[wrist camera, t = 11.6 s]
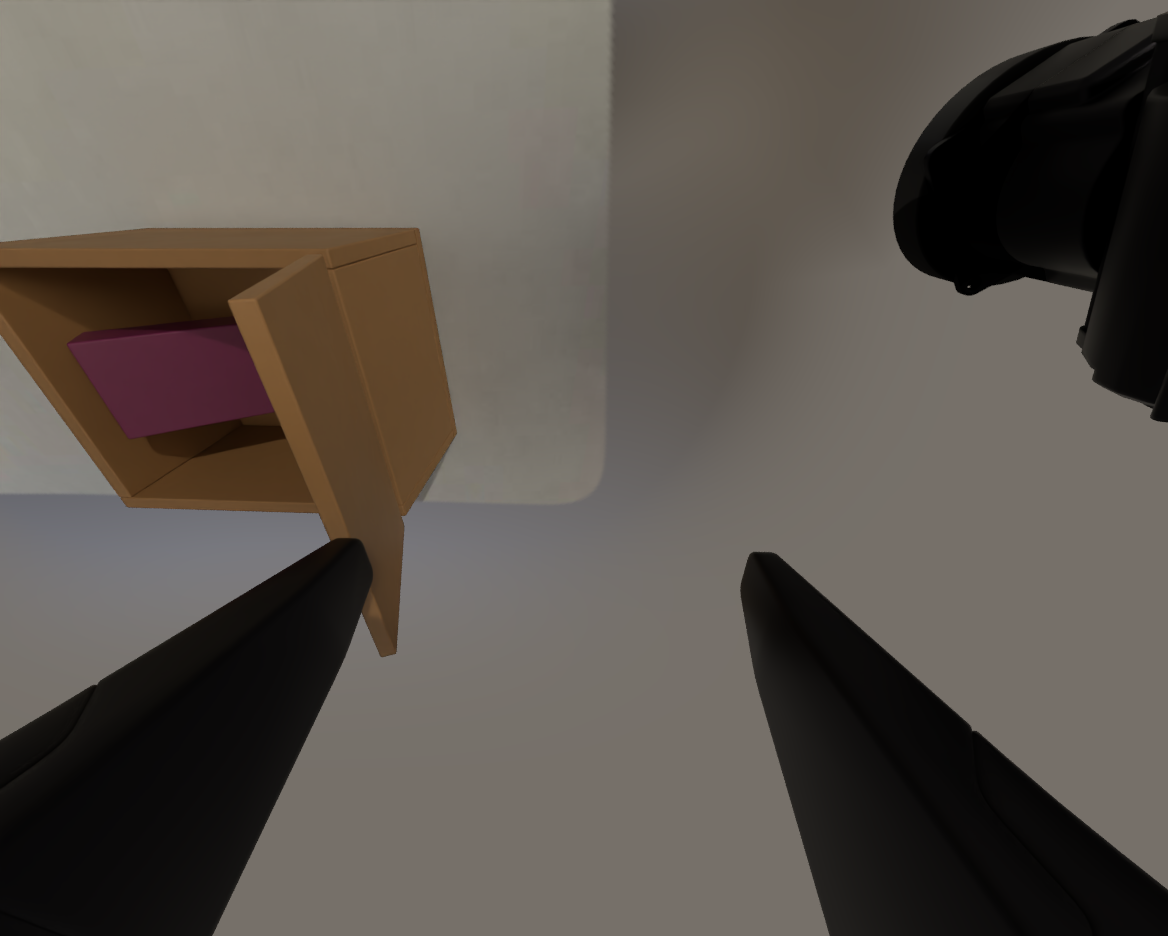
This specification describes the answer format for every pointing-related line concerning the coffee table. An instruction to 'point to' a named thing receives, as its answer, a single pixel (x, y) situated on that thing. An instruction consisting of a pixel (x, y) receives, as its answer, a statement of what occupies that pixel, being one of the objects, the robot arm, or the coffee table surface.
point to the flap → (327, 422)
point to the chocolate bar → (172, 375)
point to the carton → (201, 291)
